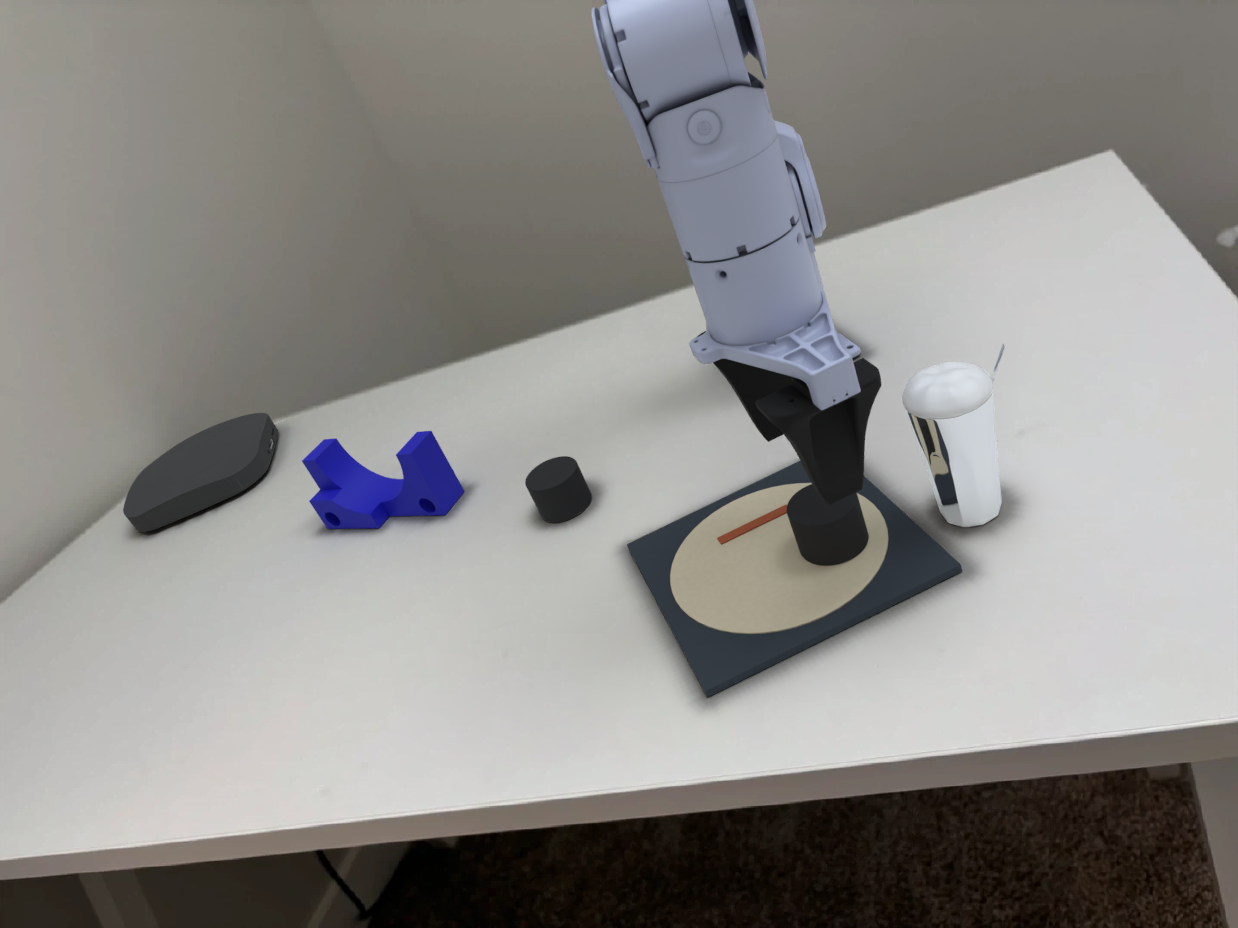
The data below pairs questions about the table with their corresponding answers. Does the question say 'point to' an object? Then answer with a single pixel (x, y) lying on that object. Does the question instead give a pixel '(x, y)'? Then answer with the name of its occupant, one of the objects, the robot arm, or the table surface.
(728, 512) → the board
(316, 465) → the cable clip
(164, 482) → the media streaming box
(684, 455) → the table surface
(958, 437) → the milkshake
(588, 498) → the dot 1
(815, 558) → the dot
